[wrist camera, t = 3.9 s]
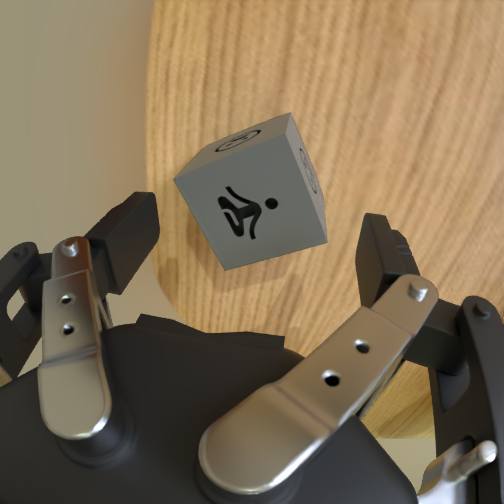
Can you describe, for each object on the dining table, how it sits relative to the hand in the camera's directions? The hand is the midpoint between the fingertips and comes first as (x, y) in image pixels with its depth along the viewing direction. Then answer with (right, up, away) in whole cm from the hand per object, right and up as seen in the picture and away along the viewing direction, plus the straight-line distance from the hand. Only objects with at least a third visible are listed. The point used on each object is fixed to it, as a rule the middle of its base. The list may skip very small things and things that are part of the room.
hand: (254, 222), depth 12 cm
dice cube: (+1, +4, +6) cm, 7 cm away
